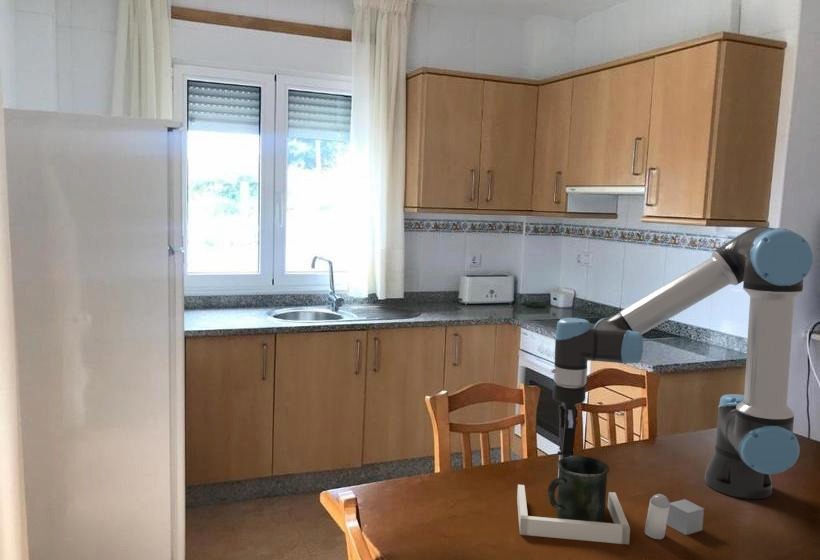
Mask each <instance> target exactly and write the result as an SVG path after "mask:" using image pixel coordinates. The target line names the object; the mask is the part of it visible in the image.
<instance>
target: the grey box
mask: <svg viewBox="0 0 820 560" xmlns="http://www.w3.org/2000/svg"><path fill="white" fill-rule="evenodd" d="M669 504H670V509H669V514H668V520H667V525H666V526H669V527H670V528H672V529H674V530H676V531H678V532H680V533H681V534H683V535H685V536H689V535H691V534H695V533H697V532H701V531H703V523H704V513H705V512H704V511H705V508H704V507H702V506H700V505H698V504H695V503H693V502H691V501H689V500H688V499H684V498H683V499H680V500H676V501H673V502H669Z"/></svg>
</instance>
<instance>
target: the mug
mask: <svg viewBox="0 0 820 560" xmlns="http://www.w3.org/2000/svg"><path fill="white" fill-rule="evenodd" d="M556 465H557V467H558V469H559V478H558V477H557V478H555V479H552V480H551V482H550V483H549V485H548V489H547V496H548V497H547V498H548V501H549V503H550V506H552V507H553V508H554V509H556V516H557V517H558V519H568V520H580V521H591V522H602V523H603V522H604V520H605V512H606V498H607V496H606V495H607V482H608V481H607V480H608V474H609V473H610V466H609V465H608V464H607V463H606V462H604V461H602V460H600V459H596V458H594V457H588V456H582V455H573V456H570V457H565V458H562V459H560V460H559V459H558V461H557V463H556ZM556 489H557V498H556V496H555V493H556Z"/></svg>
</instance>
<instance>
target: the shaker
mask: <svg viewBox="0 0 820 560" xmlns="http://www.w3.org/2000/svg"><path fill="white" fill-rule="evenodd" d="M669 503H670V501H669V498H668V497H667V496H666V495H664V494H662V493H657V494H654V495H653V496H652V497H650V499H649V504H648V509H647V516H646V520H645V526H644V534H645V535H646V536H647V537H649V538H651V539H655V540H662V539H663V540H664V538H665V535H666V530H667V526H668V525H667V520H668V514H669V509H670V504H669Z"/></svg>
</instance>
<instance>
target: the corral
mask: <svg viewBox="0 0 820 560" xmlns="http://www.w3.org/2000/svg"><path fill="white" fill-rule="evenodd" d="M516 491H517V494H516V495H517V496H516V501H517V503H516V504H517V513H518V514H517V515H518V516H517V517H518V525H519V527H518V528H519V529H518V530H519V535H521V536H529V537H530V536H531V537H540V538H541V537H544V538H554V539H563V540H564V539H565V540H574V541H575V540H576V541H587V542H597V543H607V544H609V543H610V544H618V545H630V537H631V536H630V535H631V527H630V524H629V522H628V520H627V517H626V515H625V512H624V510H623V507H622V505H621V503H620V501H619V498H618V496H617V493H616V491H615V492H614V491H613V492H611V491H608V496H607V506H606V507H607V509H608V511H609V514H610V517H611V520H612V522H613V523H611V522H603V521H602V522H591V521H580V520H568V519H560V518H557V517H554V518H553V517H546V516H543V517H542V516H533V515H531V516H530V515H528V507H527V506H528V505H527V498H526V495H527V494H526V487H525V485H524V484H517V490H516Z"/></svg>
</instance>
